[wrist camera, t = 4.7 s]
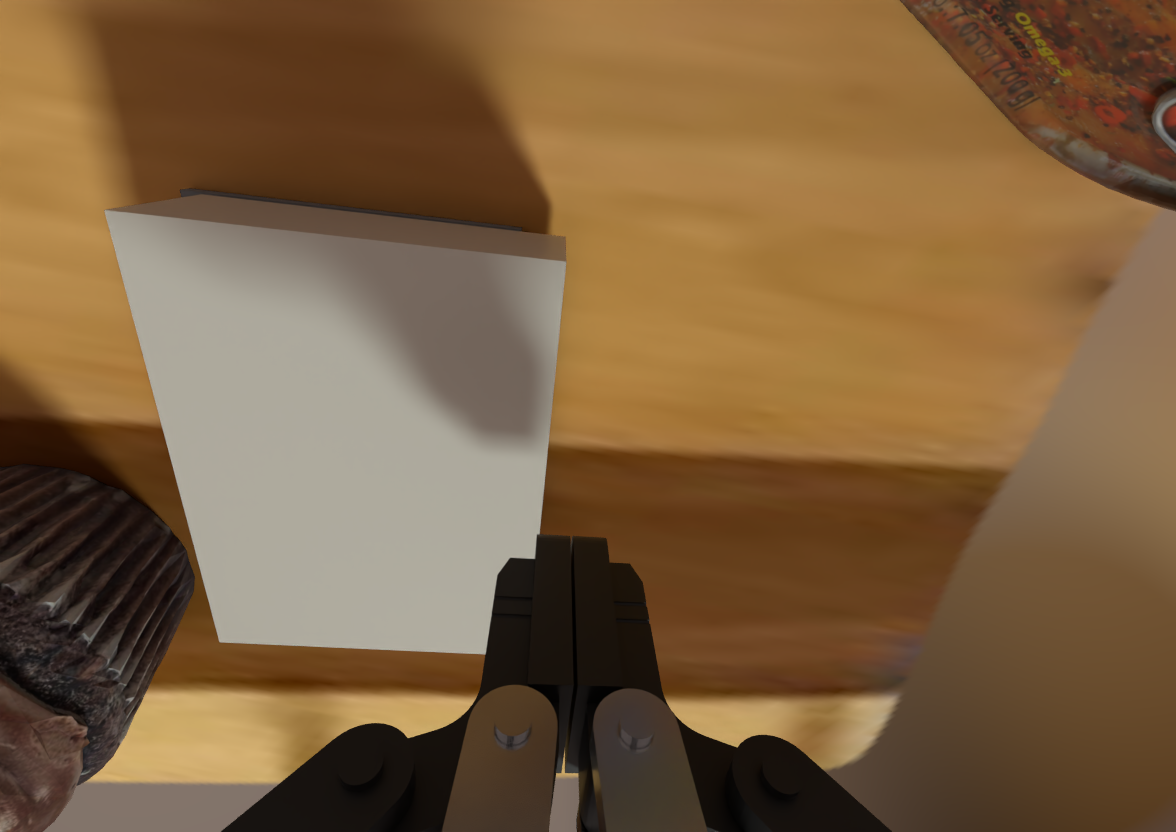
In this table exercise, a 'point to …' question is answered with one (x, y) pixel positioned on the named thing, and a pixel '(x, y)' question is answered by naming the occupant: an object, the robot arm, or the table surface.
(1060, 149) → the tin
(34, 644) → the cupcake
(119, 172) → the table surface
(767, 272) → the table surface
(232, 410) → the tile
